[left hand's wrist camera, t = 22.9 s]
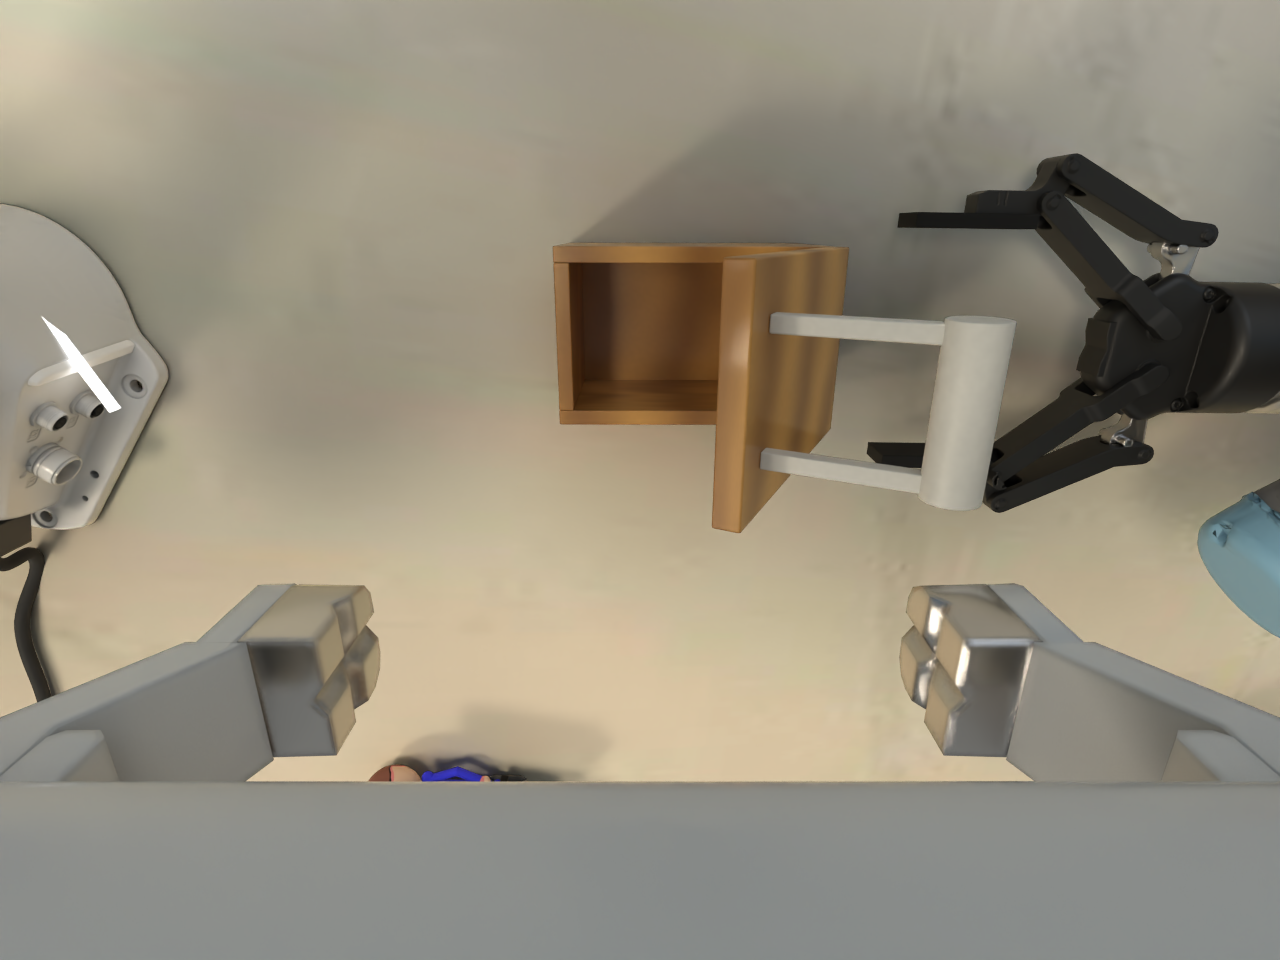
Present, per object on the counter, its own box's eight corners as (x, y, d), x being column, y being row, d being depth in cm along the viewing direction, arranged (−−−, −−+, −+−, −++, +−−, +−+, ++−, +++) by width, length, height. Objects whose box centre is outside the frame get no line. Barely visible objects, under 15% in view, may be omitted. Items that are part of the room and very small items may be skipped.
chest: (574, 388, 47) (559, 424, 39) (569, 242, 44) (552, 246, 35) (785, 389, 47) (817, 425, 39) (796, 243, 44) (834, 246, 35)
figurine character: (547, 748, 60) (370, 742, 57) (546, 819, 53) (344, 816, 50) (540, 806, 62) (369, 802, 60) (538, 881, 55) (344, 880, 53)
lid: (710, 528, 25) (969, 580, 22) (722, 256, 22) (1031, 263, 18) (810, 426, 38) (982, 448, 35) (827, 246, 35) (1019, 249, 31)
